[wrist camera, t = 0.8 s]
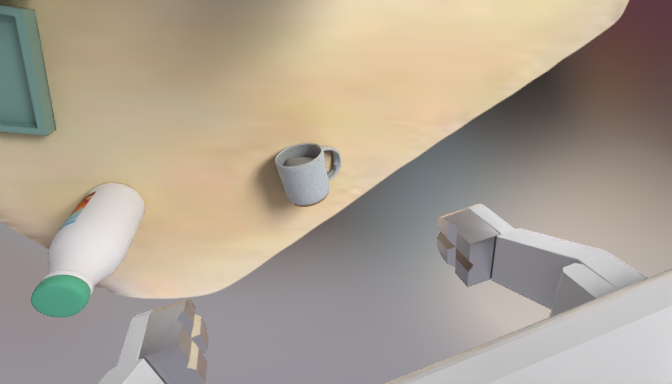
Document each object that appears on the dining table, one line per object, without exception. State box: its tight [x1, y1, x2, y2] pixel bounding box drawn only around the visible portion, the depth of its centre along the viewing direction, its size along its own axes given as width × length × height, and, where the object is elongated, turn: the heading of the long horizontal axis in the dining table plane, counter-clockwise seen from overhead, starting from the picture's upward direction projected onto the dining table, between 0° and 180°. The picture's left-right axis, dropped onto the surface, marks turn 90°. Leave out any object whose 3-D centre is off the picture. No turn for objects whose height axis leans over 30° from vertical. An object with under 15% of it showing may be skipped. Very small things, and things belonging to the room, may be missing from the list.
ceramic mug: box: [275, 143, 341, 207], centre depth 52 cm, size 11×8×8 cm
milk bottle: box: [31, 183, 145, 317], centre depth 41 cm, size 8×8×20 cm
